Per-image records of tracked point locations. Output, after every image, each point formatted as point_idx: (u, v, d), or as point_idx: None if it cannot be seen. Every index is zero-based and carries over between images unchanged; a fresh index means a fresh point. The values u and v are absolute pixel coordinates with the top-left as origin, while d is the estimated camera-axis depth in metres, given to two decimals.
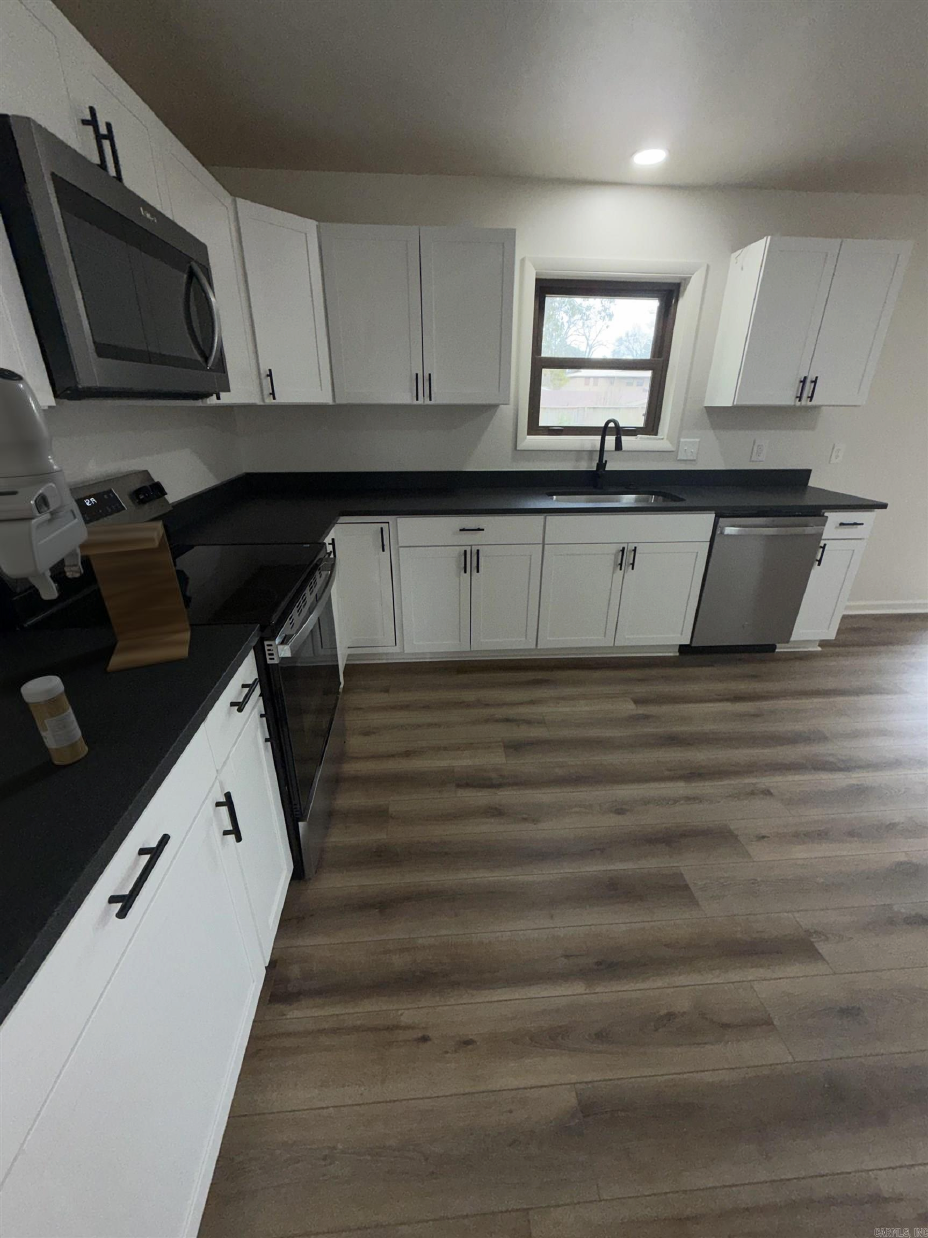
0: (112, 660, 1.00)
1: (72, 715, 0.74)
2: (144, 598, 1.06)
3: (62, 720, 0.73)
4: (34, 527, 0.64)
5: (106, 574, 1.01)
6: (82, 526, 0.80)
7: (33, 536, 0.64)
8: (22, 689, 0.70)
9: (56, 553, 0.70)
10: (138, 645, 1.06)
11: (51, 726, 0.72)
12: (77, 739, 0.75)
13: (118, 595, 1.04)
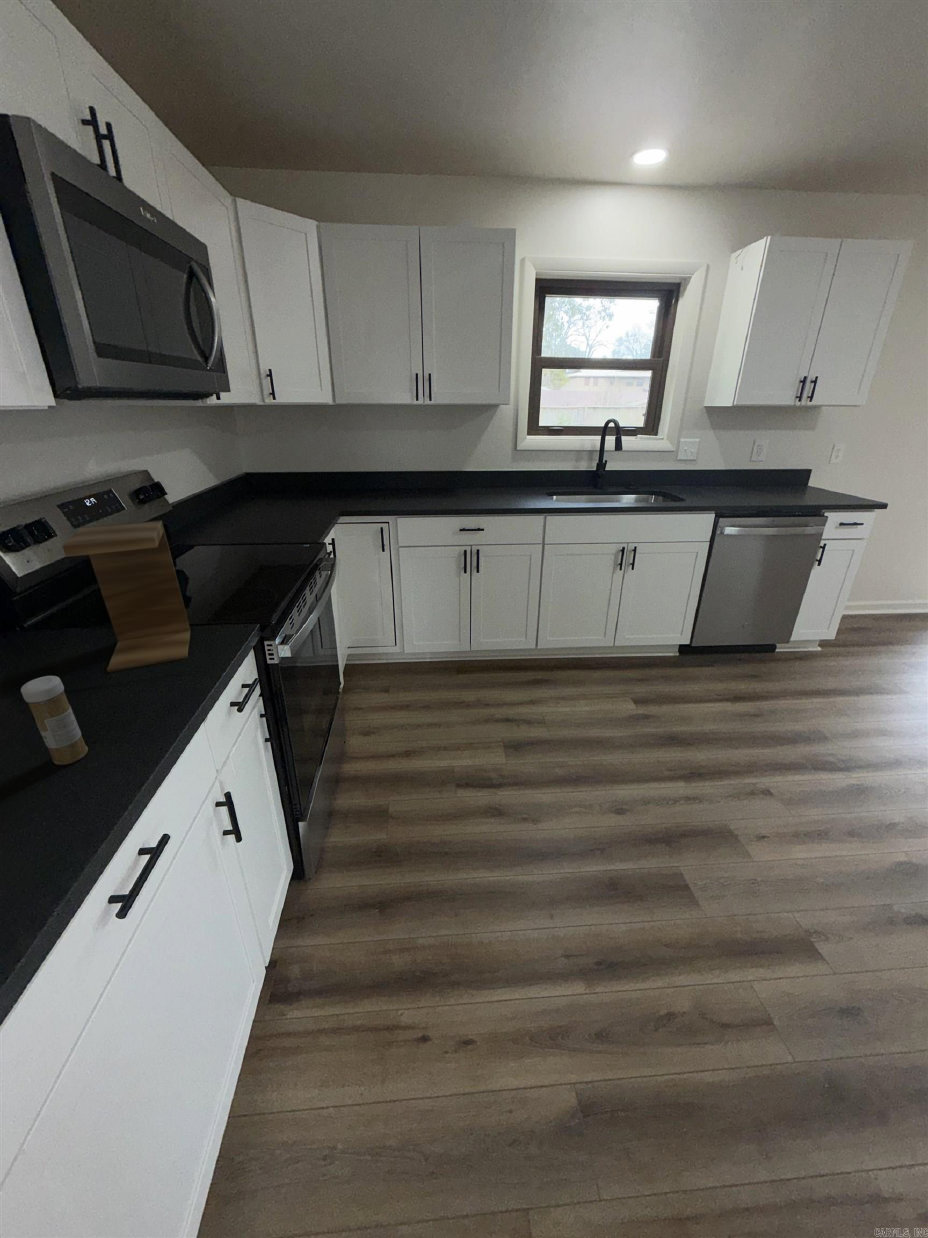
0: (112, 660, 1.00)
1: (72, 715, 0.74)
2: (144, 598, 1.06)
3: (62, 720, 0.73)
4: None
5: (106, 574, 1.01)
6: None
7: None
8: (22, 689, 0.70)
9: None
10: (138, 645, 1.06)
11: (51, 725, 0.72)
12: (77, 739, 0.75)
13: (118, 595, 1.04)
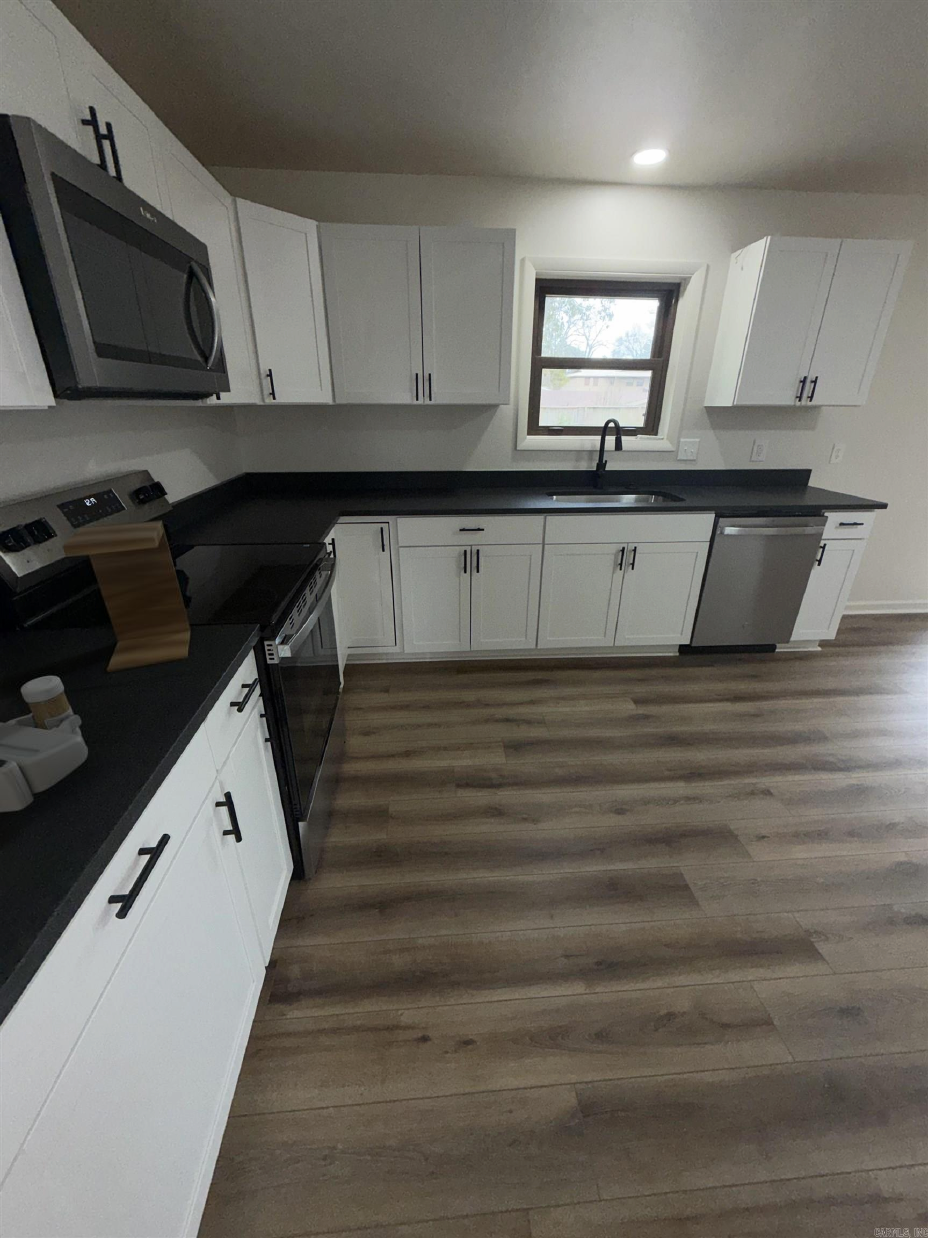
0: (112, 660, 1.00)
1: None
2: (144, 598, 1.06)
3: None
4: (28, 758, 0.62)
5: (106, 574, 1.01)
6: None
7: (40, 755, 0.63)
8: (22, 689, 0.70)
9: (37, 733, 0.68)
10: (138, 645, 1.06)
11: (51, 725, 0.72)
12: None
13: (118, 595, 1.04)
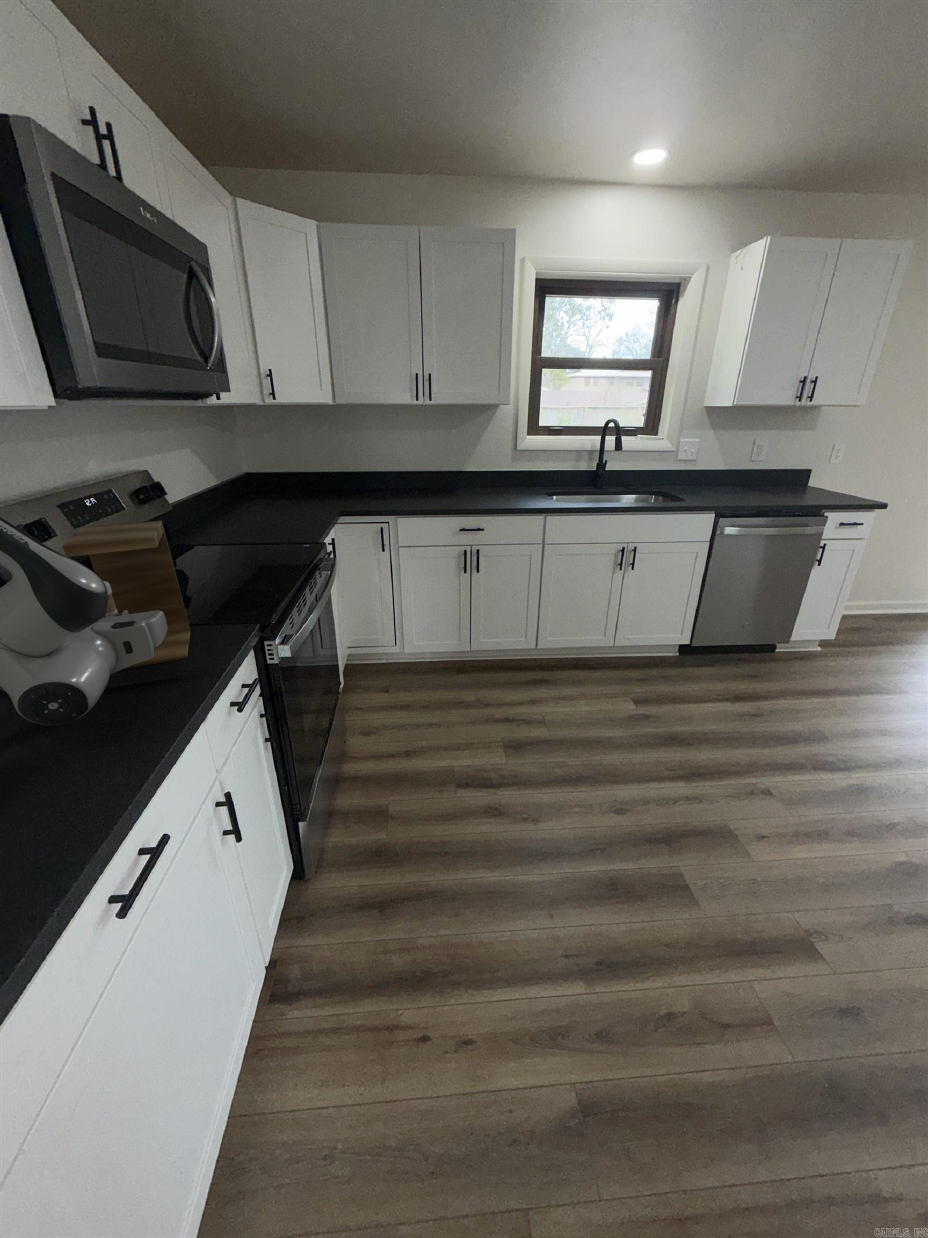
0: None
1: None
2: (144, 598, 1.06)
3: None
4: (145, 620, 0.81)
5: (106, 574, 1.01)
6: None
7: (151, 618, 0.82)
8: None
9: (118, 617, 0.83)
10: None
11: None
12: None
13: (118, 595, 1.04)
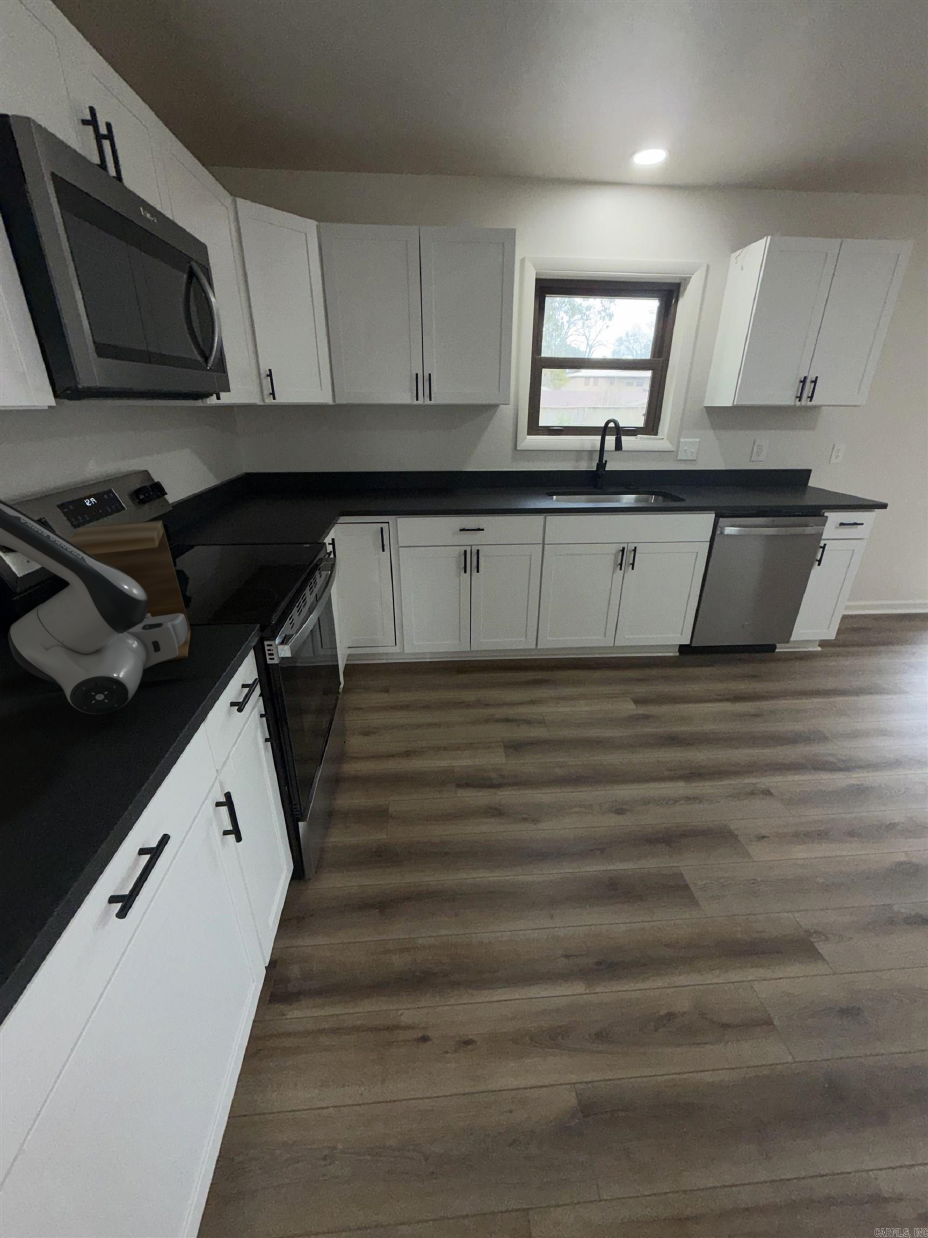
0: None
1: None
2: None
3: None
4: (170, 622, 0.90)
5: None
6: None
7: (175, 620, 0.91)
8: None
9: (144, 619, 0.93)
10: None
11: None
12: None
13: None
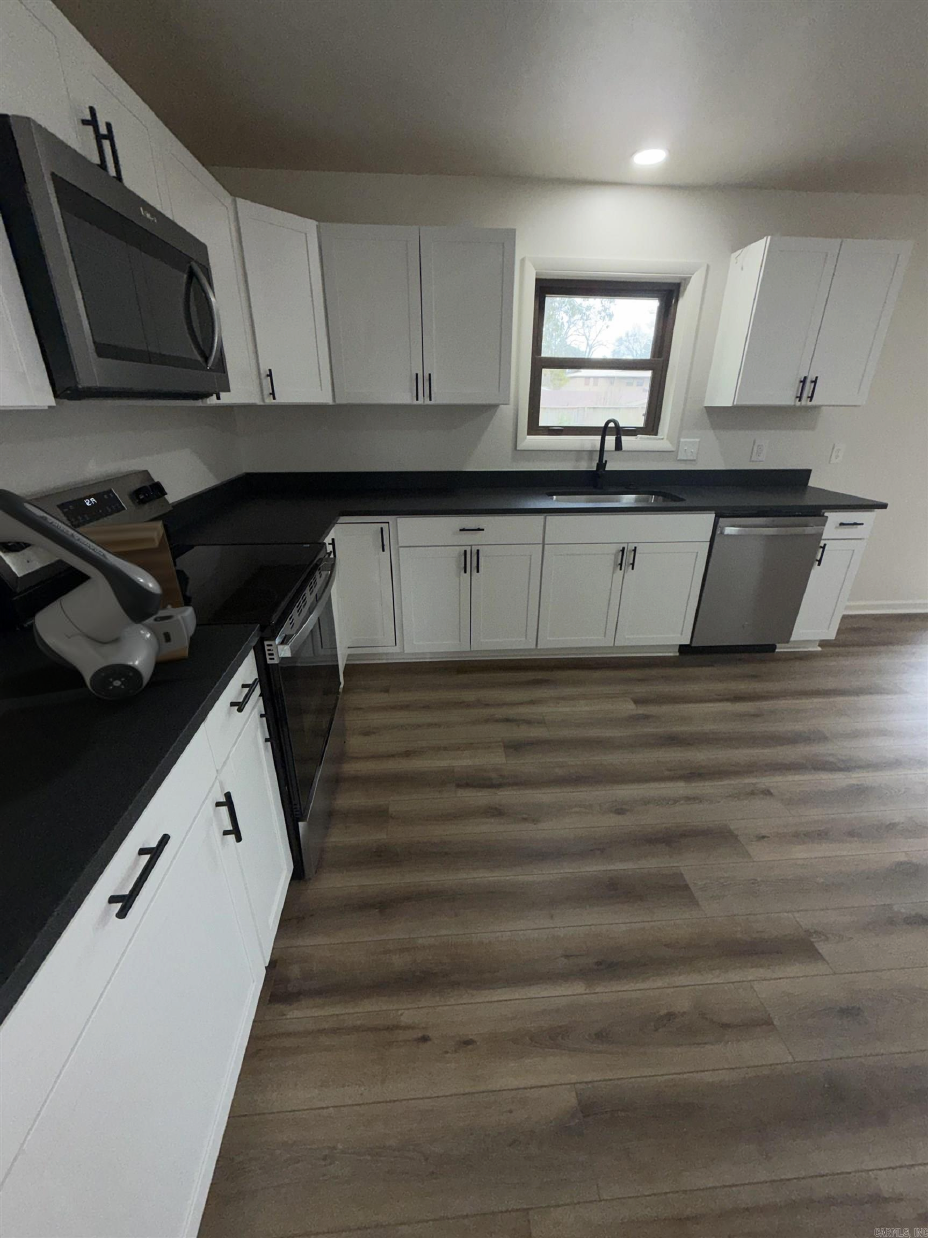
0: None
1: None
2: None
3: None
4: (180, 614, 0.95)
5: None
6: None
7: (184, 612, 0.96)
8: None
9: None
10: None
11: None
12: None
13: None
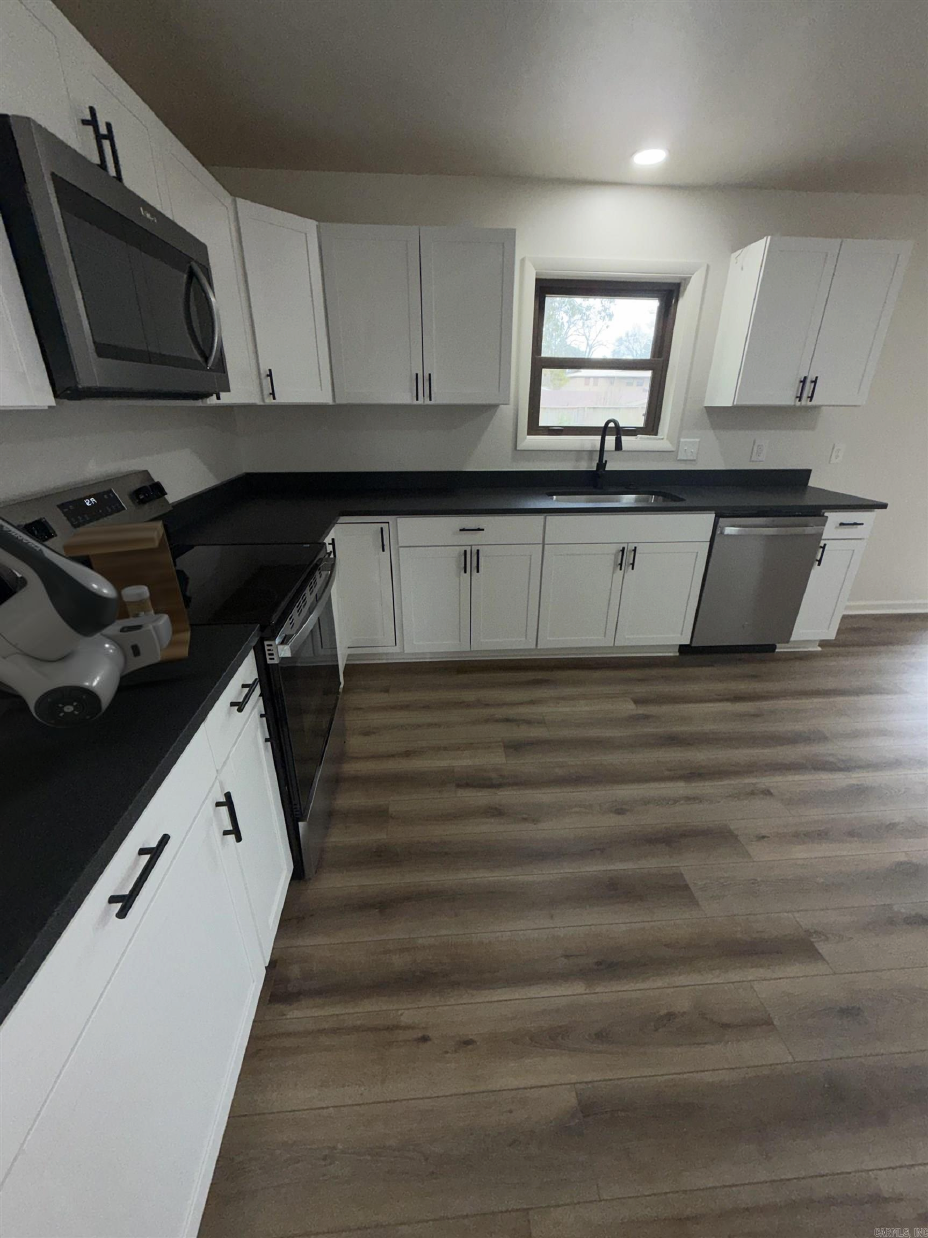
0: None
1: None
2: None
3: (153, 614, 1.02)
4: (151, 623, 0.82)
5: (106, 574, 1.01)
6: None
7: (157, 621, 0.83)
8: (127, 592, 0.97)
9: (124, 620, 0.85)
10: None
11: None
12: None
13: None
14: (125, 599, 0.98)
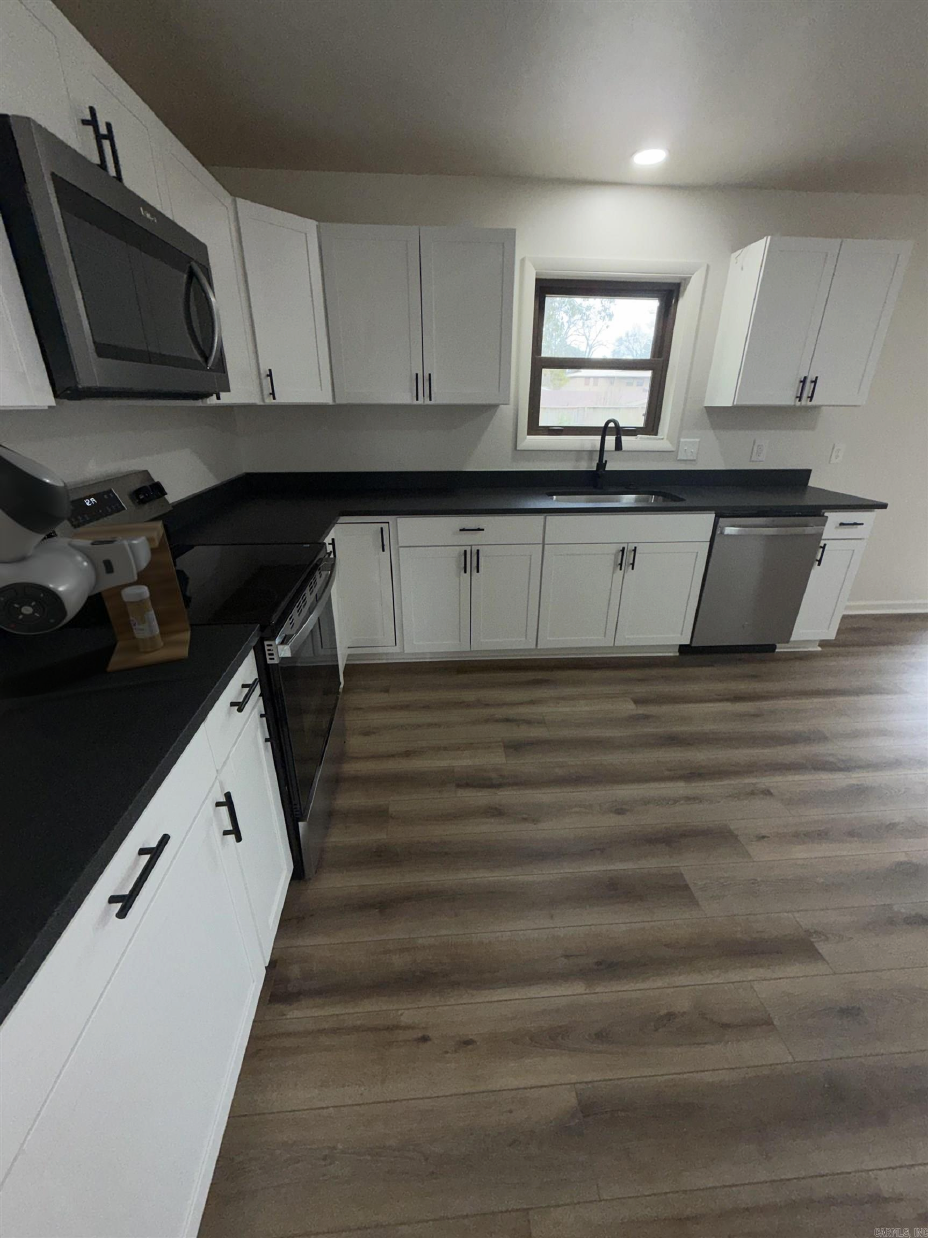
0: (112, 660, 1.00)
1: None
2: None
3: (153, 614, 1.02)
4: (126, 541, 0.76)
5: None
6: None
7: (133, 539, 0.77)
8: (127, 592, 0.97)
9: None
10: None
11: (148, 618, 1.01)
12: None
13: (118, 595, 1.04)
14: (125, 599, 0.98)
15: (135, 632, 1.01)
